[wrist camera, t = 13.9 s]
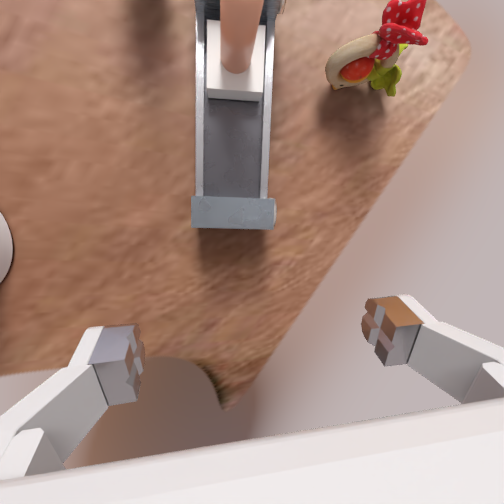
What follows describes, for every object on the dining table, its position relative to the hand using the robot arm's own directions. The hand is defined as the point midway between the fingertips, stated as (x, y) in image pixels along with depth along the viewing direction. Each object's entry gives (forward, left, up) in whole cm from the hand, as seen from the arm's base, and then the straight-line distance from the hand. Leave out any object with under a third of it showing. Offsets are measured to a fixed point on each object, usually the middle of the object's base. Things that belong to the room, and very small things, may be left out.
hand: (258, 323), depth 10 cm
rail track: (0, +14, -26) cm, 29 cm away
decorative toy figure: (+14, +19, -26) cm, 35 cm away
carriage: (0, +18, -24) cm, 30 cm away
